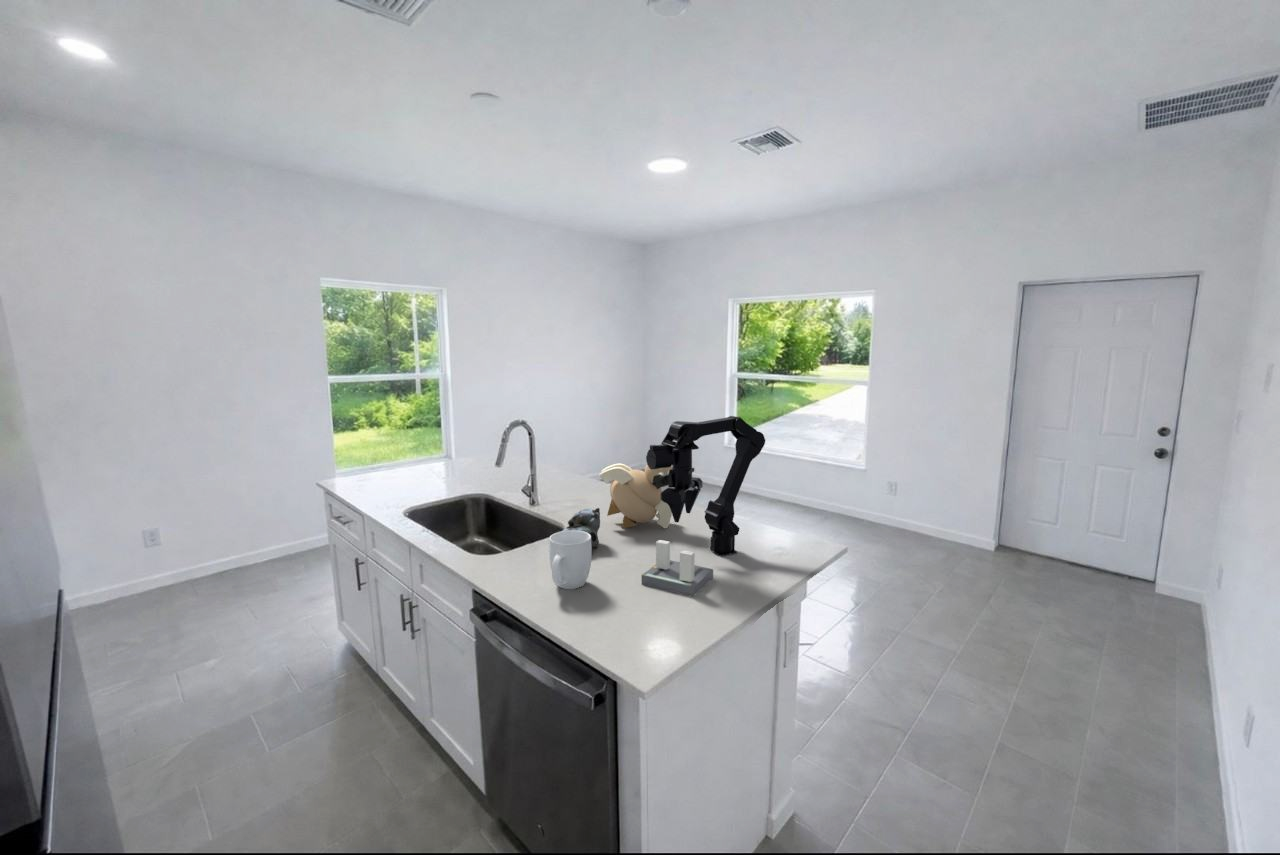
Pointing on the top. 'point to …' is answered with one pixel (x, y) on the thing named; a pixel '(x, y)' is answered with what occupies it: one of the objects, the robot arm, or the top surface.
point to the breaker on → (687, 566)
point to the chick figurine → (636, 494)
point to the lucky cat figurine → (586, 524)
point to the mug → (570, 558)
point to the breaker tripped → (662, 554)
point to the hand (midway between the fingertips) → (682, 517)
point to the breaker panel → (677, 579)
